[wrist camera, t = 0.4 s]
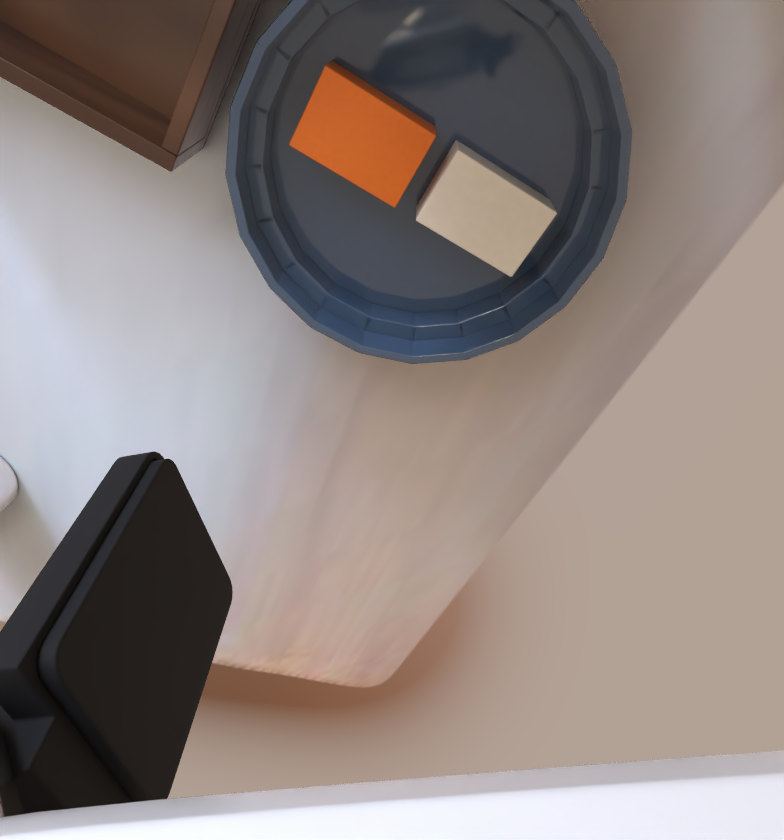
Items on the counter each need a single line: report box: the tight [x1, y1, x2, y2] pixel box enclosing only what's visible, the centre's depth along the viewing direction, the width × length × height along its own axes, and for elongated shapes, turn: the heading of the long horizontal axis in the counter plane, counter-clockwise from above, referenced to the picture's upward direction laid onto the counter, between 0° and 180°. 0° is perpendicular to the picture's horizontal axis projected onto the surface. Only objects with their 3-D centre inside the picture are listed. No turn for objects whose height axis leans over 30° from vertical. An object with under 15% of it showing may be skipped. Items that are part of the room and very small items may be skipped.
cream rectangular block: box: [416, 140, 557, 277], centre depth 35 cm, size 4×6×2 cm, turn 60°
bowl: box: [226, 0, 632, 364], centre depth 34 cm, size 19×19×4 cm
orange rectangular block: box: [289, 61, 436, 208], centre depth 33 cm, size 4×6×2 cm, turn 60°
